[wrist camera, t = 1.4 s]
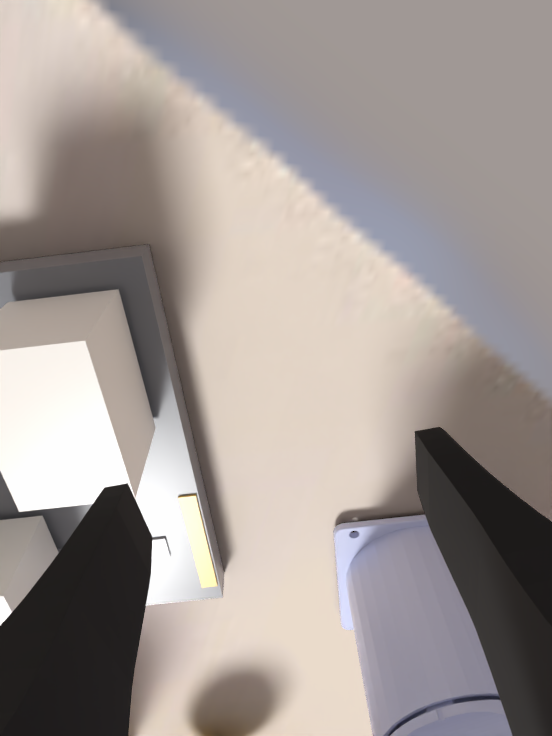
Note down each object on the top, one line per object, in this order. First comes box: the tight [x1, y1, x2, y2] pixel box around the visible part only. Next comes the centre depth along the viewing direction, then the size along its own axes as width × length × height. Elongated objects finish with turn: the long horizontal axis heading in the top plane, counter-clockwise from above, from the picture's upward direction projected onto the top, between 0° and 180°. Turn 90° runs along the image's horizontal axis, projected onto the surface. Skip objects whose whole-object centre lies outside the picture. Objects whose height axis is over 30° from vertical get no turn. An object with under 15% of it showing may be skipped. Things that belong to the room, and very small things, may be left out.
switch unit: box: [0, 244, 224, 606], centre depth 24 cm, size 12×18×2 cm, turn 6°
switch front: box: [0, 289, 156, 512], centre depth 18 cm, size 4×6×4 cm, turn 6°
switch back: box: [0, 516, 59, 625], centre depth 23 cm, size 4×6×4 cm, turn 6°
